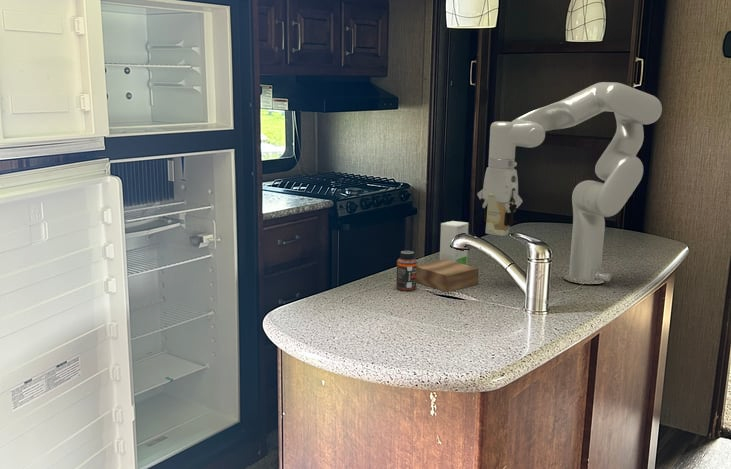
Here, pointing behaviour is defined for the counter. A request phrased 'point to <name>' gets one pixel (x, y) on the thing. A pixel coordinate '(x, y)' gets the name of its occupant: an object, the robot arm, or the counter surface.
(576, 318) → the counter surface
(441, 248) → the skincare box
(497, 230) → the skincare box
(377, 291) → the counter surface
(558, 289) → the counter surface
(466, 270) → the walnut block
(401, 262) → the supplement bottle
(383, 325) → the counter surface
